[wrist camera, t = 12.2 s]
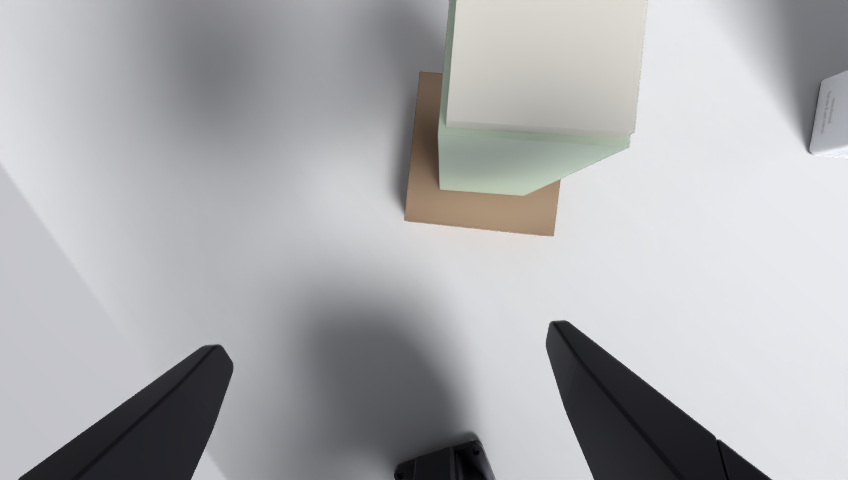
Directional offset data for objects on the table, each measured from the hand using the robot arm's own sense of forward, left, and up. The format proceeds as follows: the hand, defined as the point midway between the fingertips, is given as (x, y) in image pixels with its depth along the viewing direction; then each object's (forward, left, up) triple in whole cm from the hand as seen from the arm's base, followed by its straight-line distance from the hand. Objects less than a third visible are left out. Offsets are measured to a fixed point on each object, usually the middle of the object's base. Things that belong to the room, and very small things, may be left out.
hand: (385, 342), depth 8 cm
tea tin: (+6, -6, -10) cm, 13 cm away
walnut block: (+6, -7, -13) cm, 16 cm away
